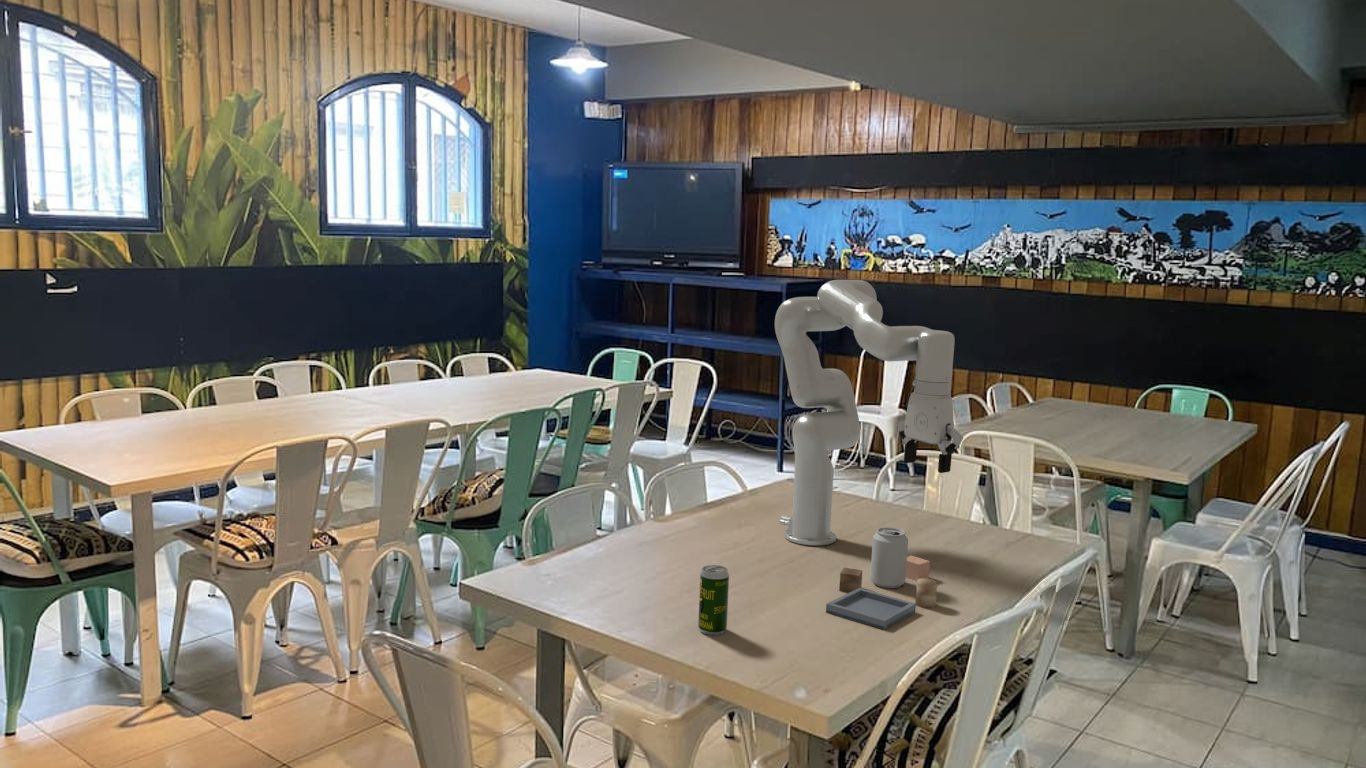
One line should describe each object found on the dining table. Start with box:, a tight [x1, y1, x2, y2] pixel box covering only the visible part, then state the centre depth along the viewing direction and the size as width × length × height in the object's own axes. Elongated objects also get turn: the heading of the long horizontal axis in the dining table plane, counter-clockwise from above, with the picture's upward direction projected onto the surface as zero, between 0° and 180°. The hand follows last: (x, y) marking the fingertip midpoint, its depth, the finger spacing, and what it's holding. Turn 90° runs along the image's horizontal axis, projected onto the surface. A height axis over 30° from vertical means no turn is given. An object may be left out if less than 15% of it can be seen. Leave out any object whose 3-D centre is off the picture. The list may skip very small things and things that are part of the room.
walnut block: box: [838, 567, 863, 593], centre depth 219 cm, size 4×4×4 cm
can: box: [869, 526, 909, 589], centre depth 223 cm, size 8×8×12 cm
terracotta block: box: [905, 555, 931, 582], centre depth 229 cm, size 5×4×4 cm
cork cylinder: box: [915, 578, 938, 609], centre depth 212 cm, size 4×4×5 cm
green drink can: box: [697, 564, 730, 636], centre depth 193 cm, size 5×5×12 cm
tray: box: [825, 587, 917, 631], centre depth 206 cm, size 13×13×2 cm
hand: (926, 467), depth 221 cm, fingers open, 9 cm apart
